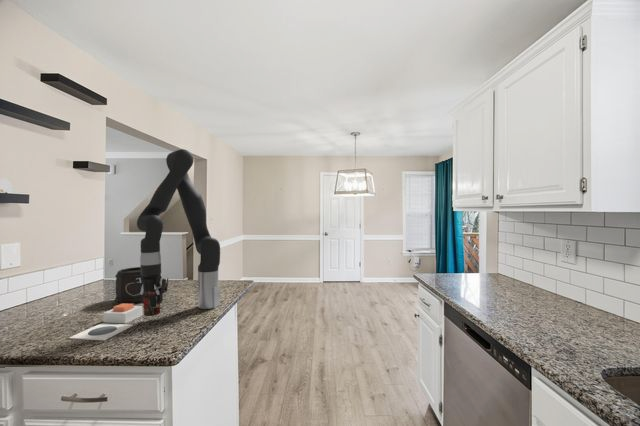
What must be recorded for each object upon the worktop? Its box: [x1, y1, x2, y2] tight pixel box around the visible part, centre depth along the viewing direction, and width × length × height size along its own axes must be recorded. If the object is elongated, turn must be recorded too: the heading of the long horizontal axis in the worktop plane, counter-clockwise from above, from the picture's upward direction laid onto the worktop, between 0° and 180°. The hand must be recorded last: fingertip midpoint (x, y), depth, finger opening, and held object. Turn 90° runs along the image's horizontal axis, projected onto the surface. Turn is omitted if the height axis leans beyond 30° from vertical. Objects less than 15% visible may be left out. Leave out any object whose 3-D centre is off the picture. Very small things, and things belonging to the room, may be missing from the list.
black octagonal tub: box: [114, 266, 143, 305], centre depth 158 cm, size 18×18×16 cm
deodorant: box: [143, 278, 161, 317], centre depth 126 cm, size 6×6×15 cm
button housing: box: [102, 305, 144, 324], centre depth 130 cm, size 10×10×4 cm
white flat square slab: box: [68, 322, 134, 341], centre depth 116 cm, size 14×14×1 cm
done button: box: [112, 303, 135, 312], centre depth 130 cm, size 5×5×3 cm
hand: (151, 303), depth 126 cm, fingers closed on deodorant, 6 cm apart
